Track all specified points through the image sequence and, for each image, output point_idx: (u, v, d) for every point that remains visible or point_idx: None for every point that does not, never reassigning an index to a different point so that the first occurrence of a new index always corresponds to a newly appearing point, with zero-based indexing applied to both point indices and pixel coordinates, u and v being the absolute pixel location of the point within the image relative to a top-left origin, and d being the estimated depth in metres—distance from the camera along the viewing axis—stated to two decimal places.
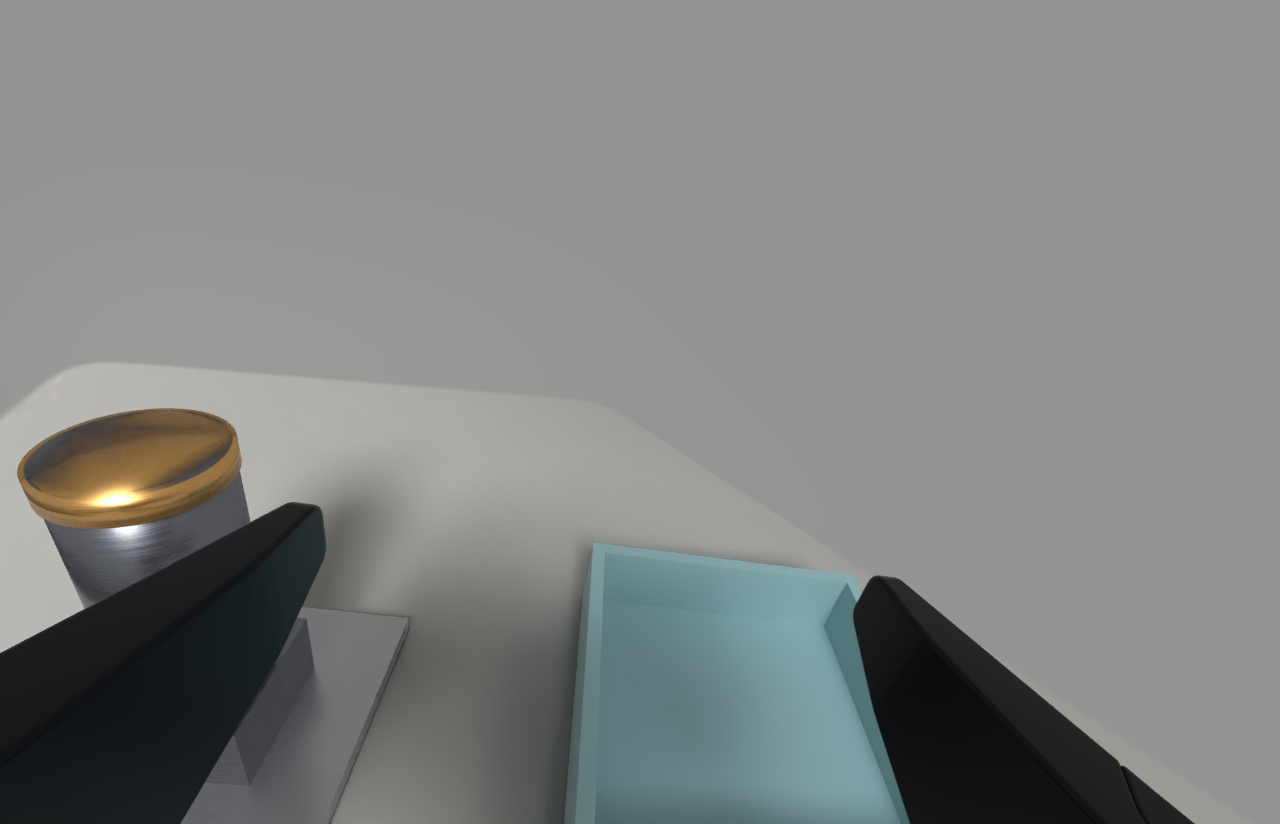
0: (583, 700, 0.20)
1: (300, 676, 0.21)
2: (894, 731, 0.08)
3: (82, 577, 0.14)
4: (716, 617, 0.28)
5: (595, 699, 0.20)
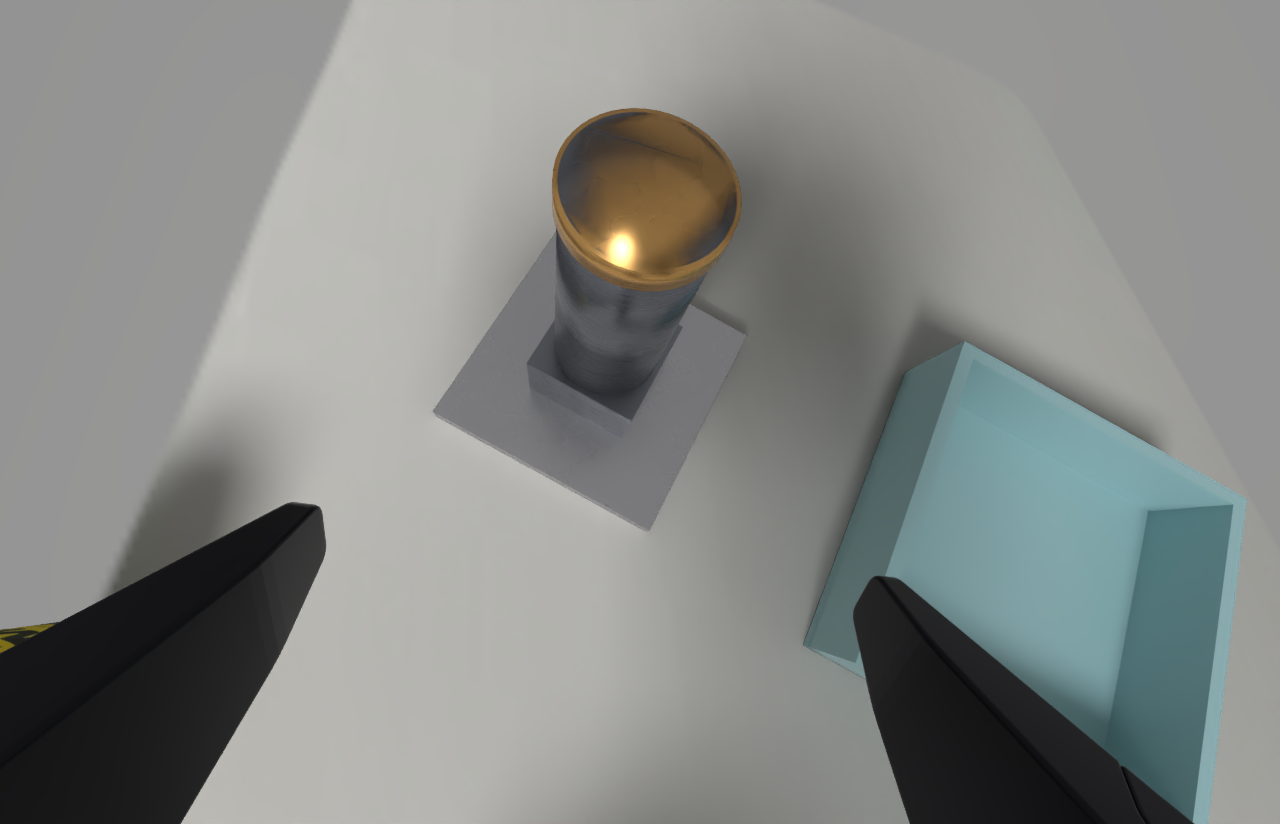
0: (906, 512, 0.20)
1: None
2: (894, 731, 0.08)
3: (578, 300, 0.14)
4: (1036, 454, 0.26)
5: (917, 516, 0.20)
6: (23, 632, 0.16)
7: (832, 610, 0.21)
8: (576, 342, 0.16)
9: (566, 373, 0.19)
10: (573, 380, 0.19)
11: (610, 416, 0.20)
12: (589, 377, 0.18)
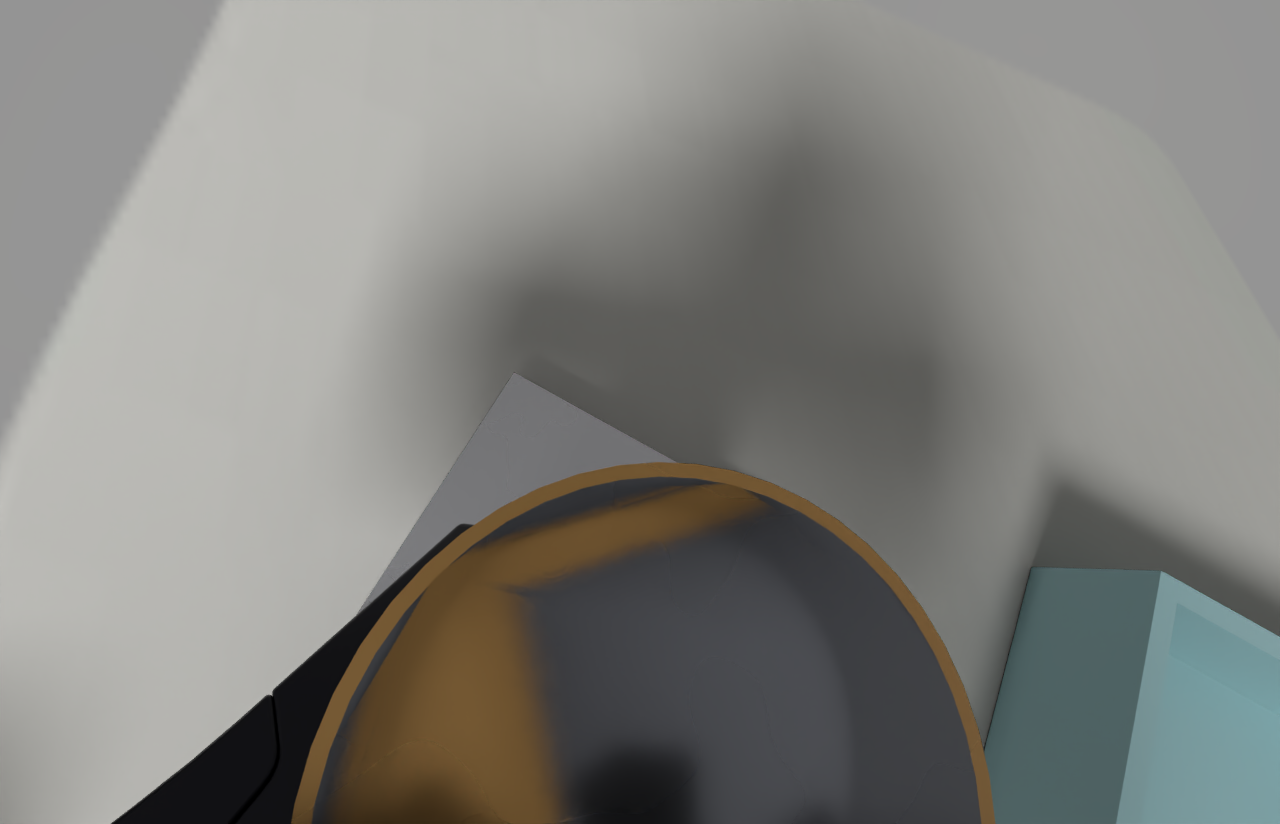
0: None
1: None
2: None
3: None
4: (1232, 698, 0.17)
5: None
6: None
7: None
8: None
9: None
10: None
11: None
12: None
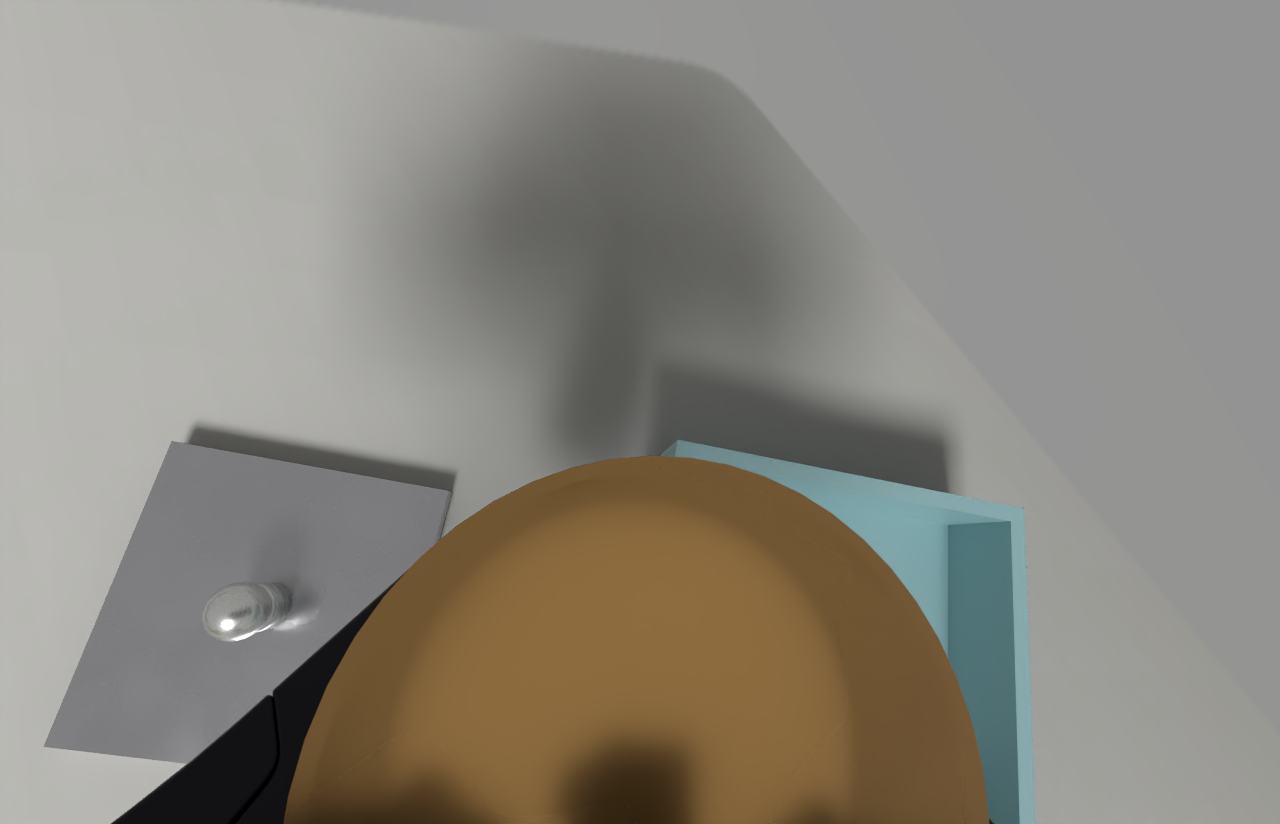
0: None
1: None
2: None
3: None
4: None
5: None
6: None
7: None
8: None
9: None
10: None
11: None
12: None
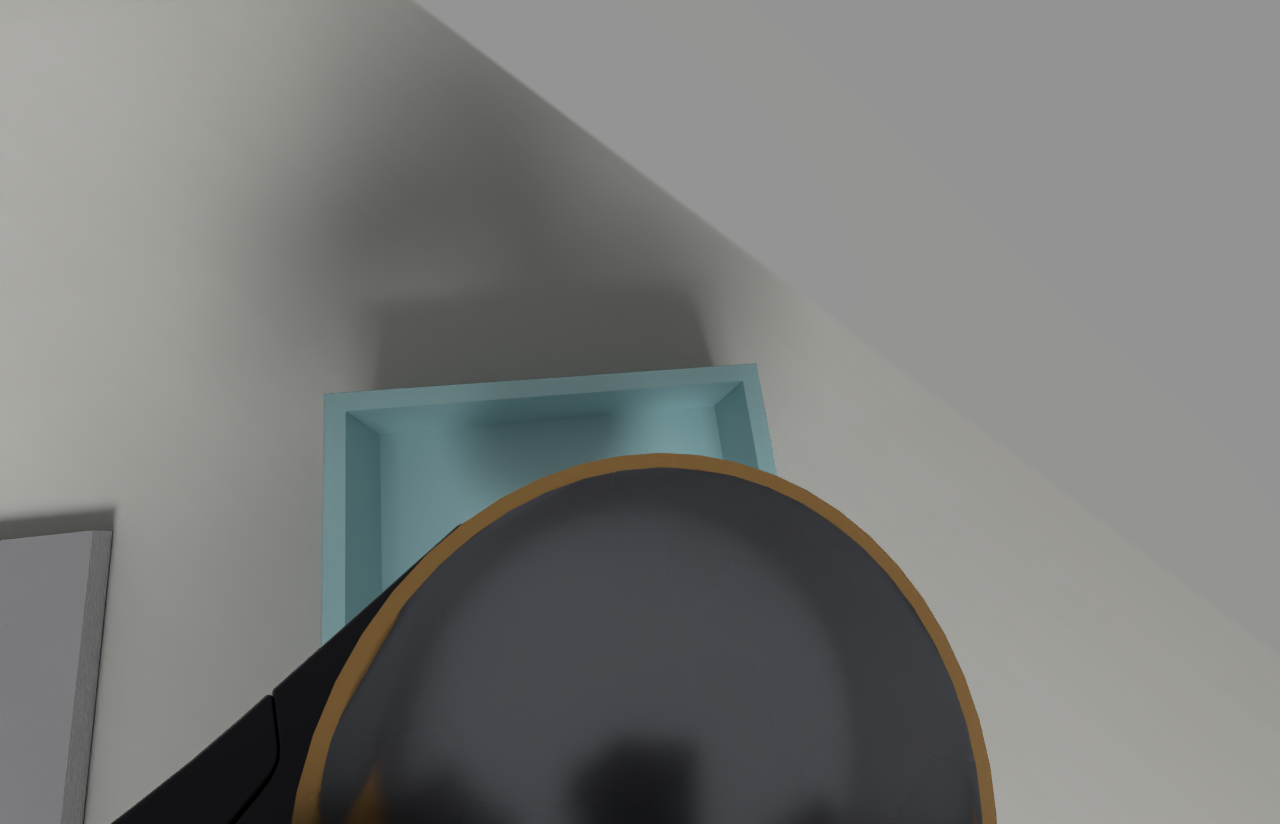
0: None
1: None
2: None
3: None
4: (562, 425, 0.21)
5: None
6: None
7: None
8: None
9: None
10: None
11: None
12: None
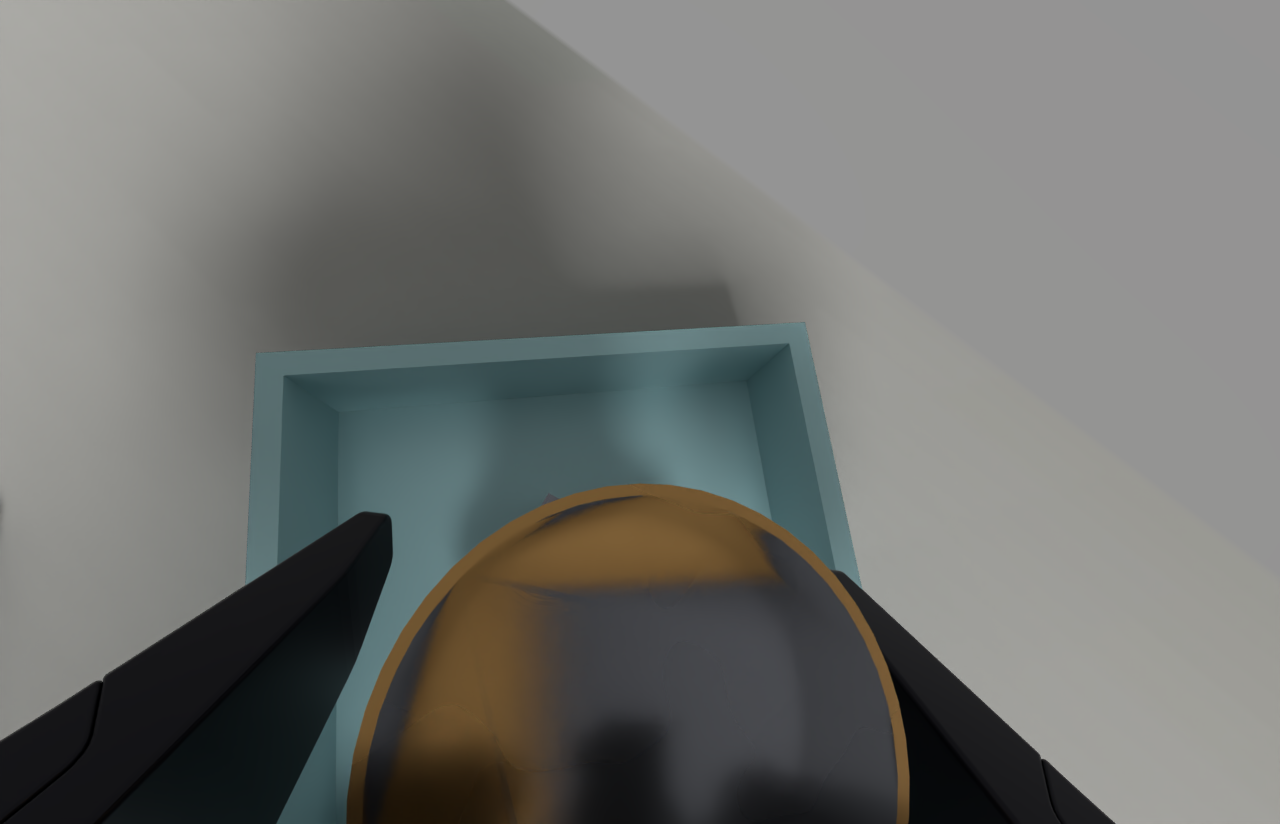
0: None
1: None
2: None
3: None
4: (563, 402, 0.17)
5: None
6: None
7: None
8: None
9: None
10: None
11: None
12: None
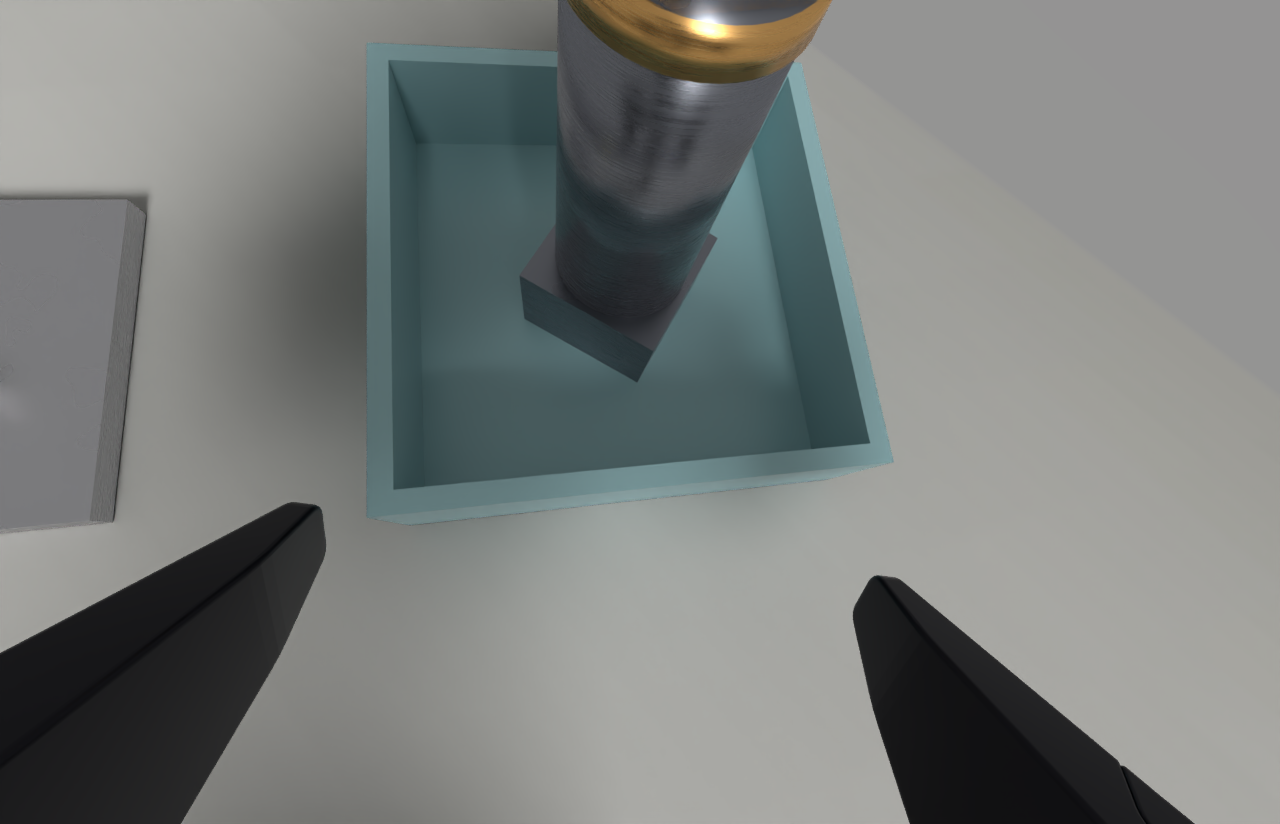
0: (368, 293, 0.14)
1: (687, 293, 0.18)
2: (894, 731, 0.08)
3: (589, 133, 0.09)
4: None
5: (385, 290, 0.14)
6: None
7: None
8: (585, 224, 0.12)
9: (570, 289, 0.15)
10: (579, 298, 0.15)
11: (625, 348, 0.16)
12: (600, 287, 0.14)
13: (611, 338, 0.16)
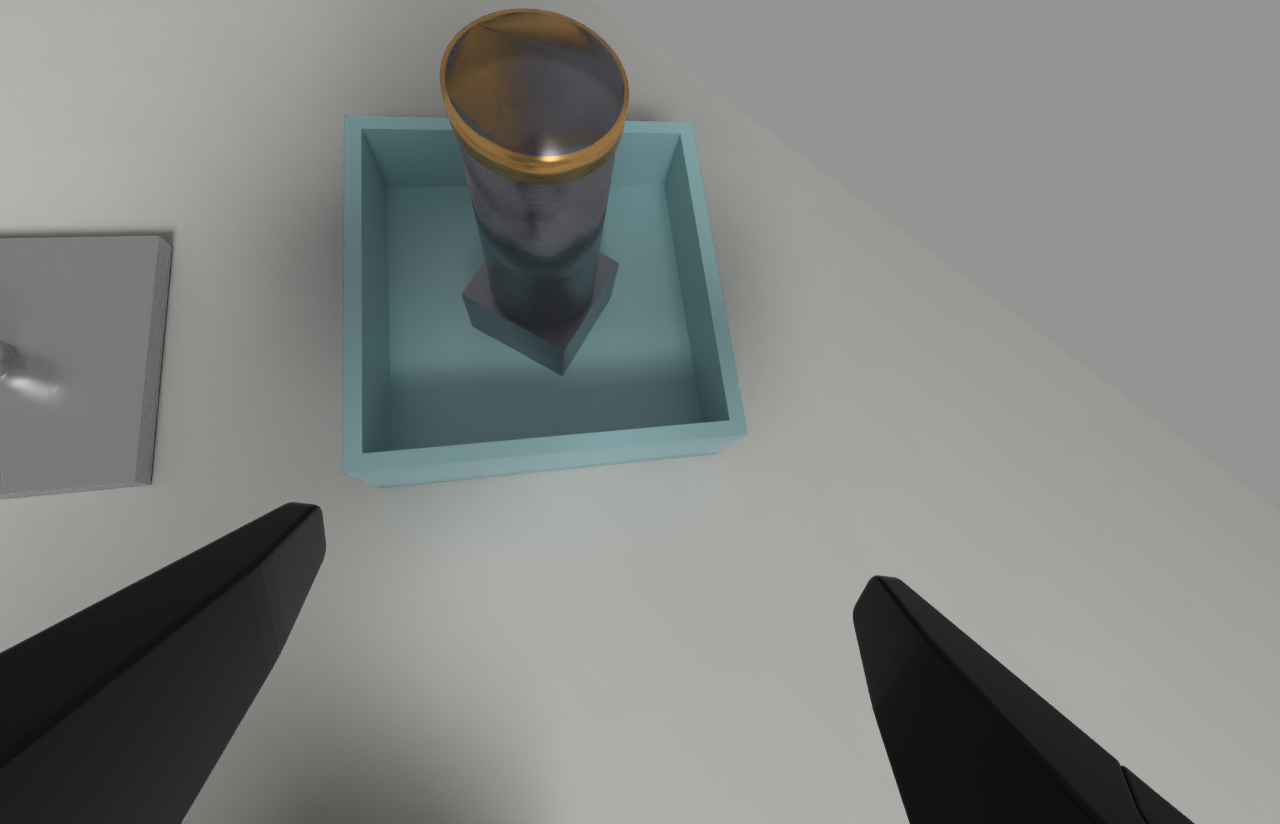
0: (344, 309, 0.19)
1: (602, 305, 0.23)
2: (894, 731, 0.08)
3: (484, 206, 0.14)
4: None
5: (357, 306, 0.19)
6: None
7: None
8: (496, 260, 0.17)
9: (500, 304, 0.20)
10: (507, 311, 0.20)
11: (546, 349, 0.21)
12: (518, 303, 0.19)
13: (534, 341, 0.21)
